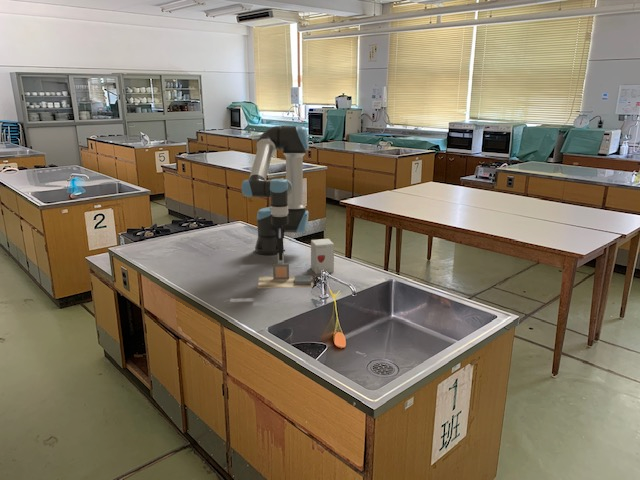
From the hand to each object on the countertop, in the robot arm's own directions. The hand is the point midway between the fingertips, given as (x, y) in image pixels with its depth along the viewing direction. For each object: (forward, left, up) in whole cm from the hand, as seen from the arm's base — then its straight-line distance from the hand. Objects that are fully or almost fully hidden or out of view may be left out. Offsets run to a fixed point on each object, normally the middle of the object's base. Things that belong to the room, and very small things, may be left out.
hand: (281, 266), depth 220 cm
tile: (+3, 0, -5) cm, 6 cm away
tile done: (+7, +10, -5) cm, 13 cm away
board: (+6, +2, -6) cm, 9 cm away
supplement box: (-8, +19, -6) cm, 22 cm away
